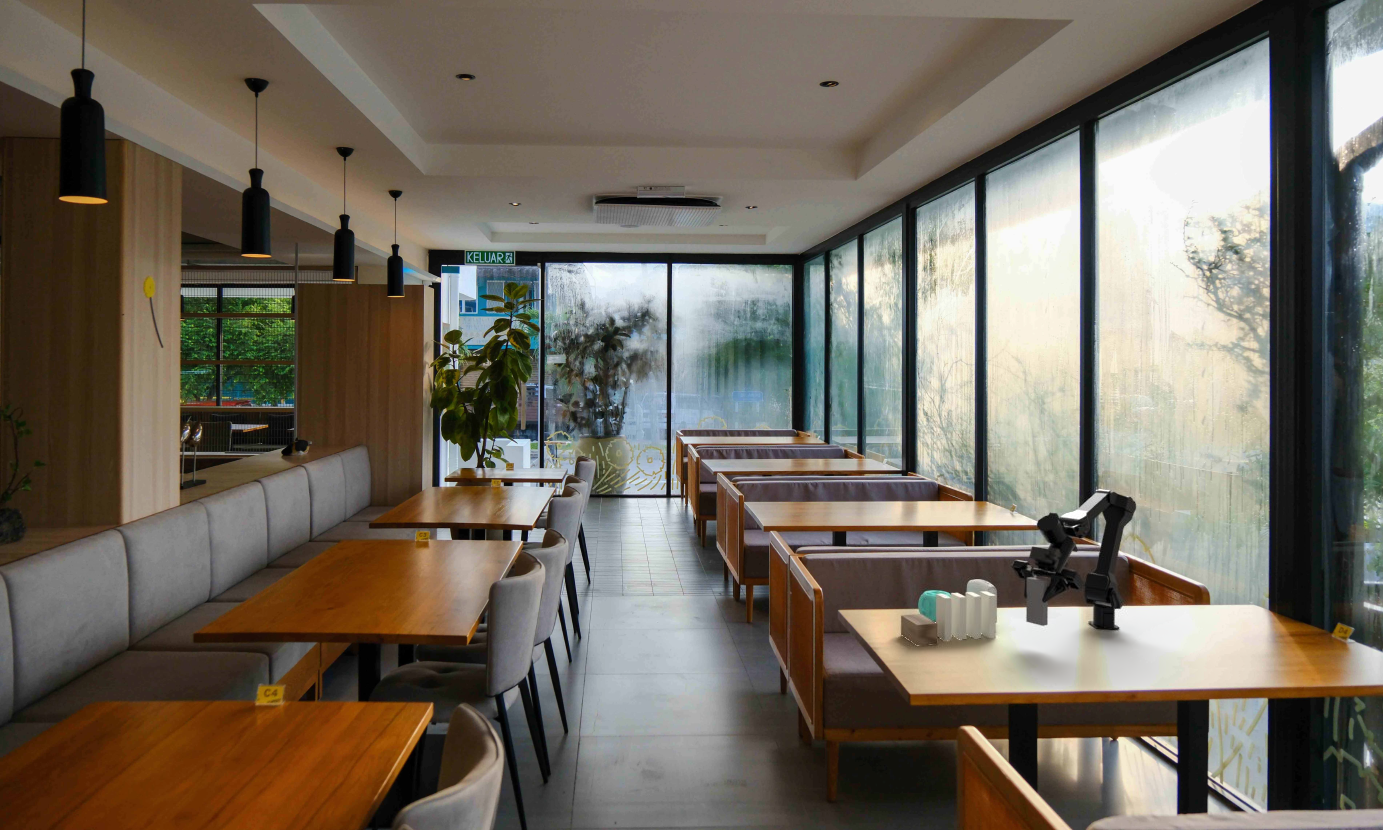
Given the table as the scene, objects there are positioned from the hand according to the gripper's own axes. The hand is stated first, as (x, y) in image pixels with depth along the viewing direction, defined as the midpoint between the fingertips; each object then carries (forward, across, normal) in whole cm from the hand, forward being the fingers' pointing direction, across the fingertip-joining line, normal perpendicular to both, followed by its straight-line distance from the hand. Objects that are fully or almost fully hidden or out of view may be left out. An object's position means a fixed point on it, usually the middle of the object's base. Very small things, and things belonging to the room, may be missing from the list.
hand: (1034, 599), depth 225 cm
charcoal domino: (+4, 0, +6) cm, 7 cm away
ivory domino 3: (+12, -16, +6) cm, 21 cm away
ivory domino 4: (+10, -14, +9) cm, 19 cm away
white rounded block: (+2, -24, +17) cm, 30 cm away
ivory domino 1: (+18, -20, 0) cm, 27 cm away
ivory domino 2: (+15, -18, +3) cm, 24 cm away
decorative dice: (+8, -33, +10) cm, 36 cm away
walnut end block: (+23, -23, -5) cm, 33 cm away
